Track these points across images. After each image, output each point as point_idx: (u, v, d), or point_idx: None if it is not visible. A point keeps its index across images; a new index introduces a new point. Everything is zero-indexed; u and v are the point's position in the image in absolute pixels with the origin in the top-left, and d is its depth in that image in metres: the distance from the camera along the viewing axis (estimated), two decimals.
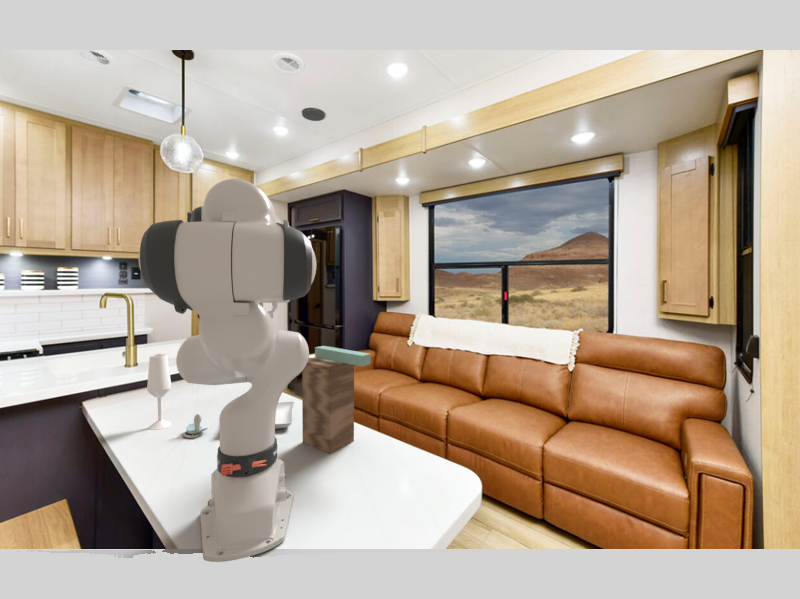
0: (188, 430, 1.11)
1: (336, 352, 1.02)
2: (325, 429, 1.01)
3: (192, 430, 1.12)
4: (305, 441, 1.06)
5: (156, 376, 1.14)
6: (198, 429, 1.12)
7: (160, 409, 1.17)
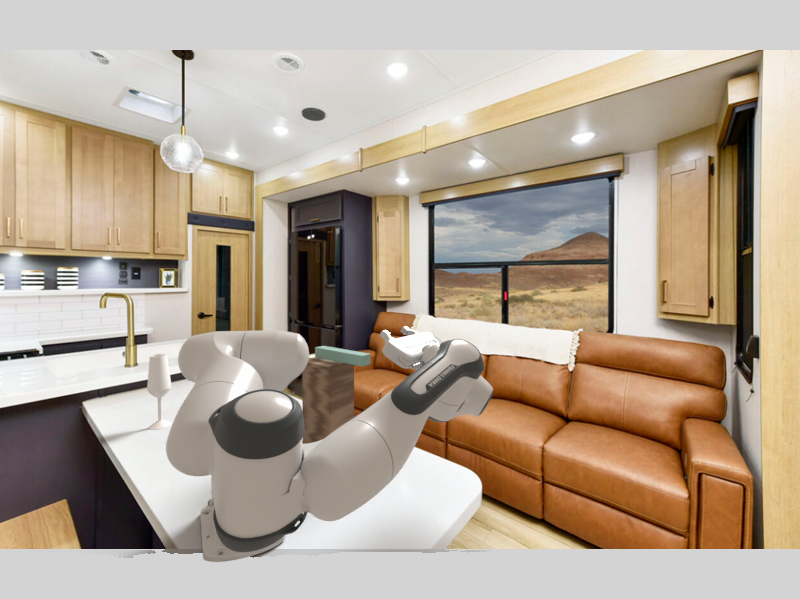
0: None
1: (336, 352, 1.02)
2: (325, 429, 1.01)
3: None
4: (305, 441, 1.06)
5: (156, 376, 1.14)
6: None
7: (160, 409, 1.17)
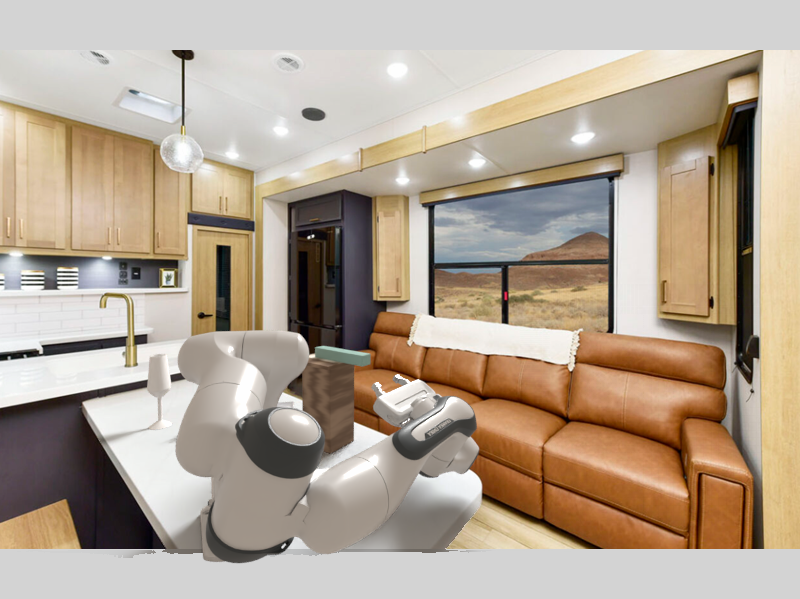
0: None
1: (336, 352, 1.02)
2: (325, 429, 1.01)
3: None
4: None
5: (156, 376, 1.14)
6: None
7: (160, 409, 1.17)
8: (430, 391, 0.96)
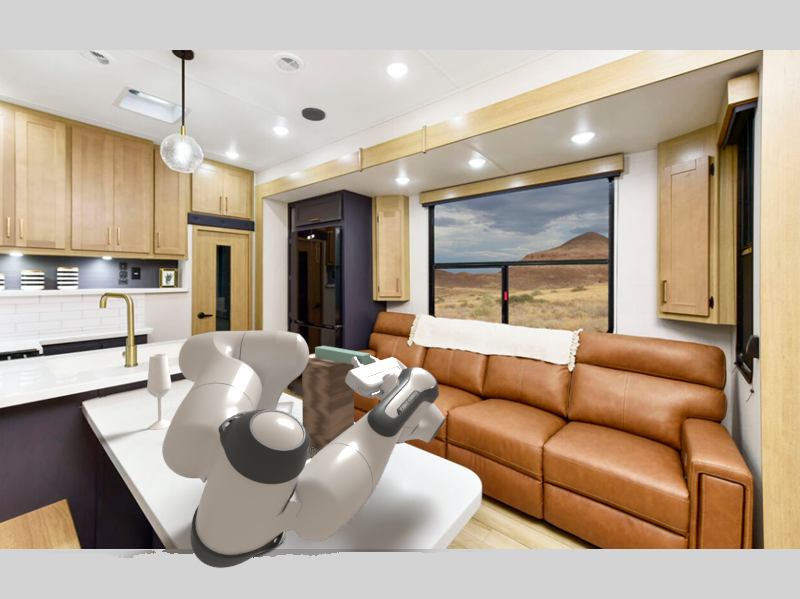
0: None
1: (336, 352, 1.02)
2: (325, 429, 1.01)
3: None
4: None
5: (156, 376, 1.14)
6: None
7: (160, 409, 1.17)
8: (403, 367, 1.00)
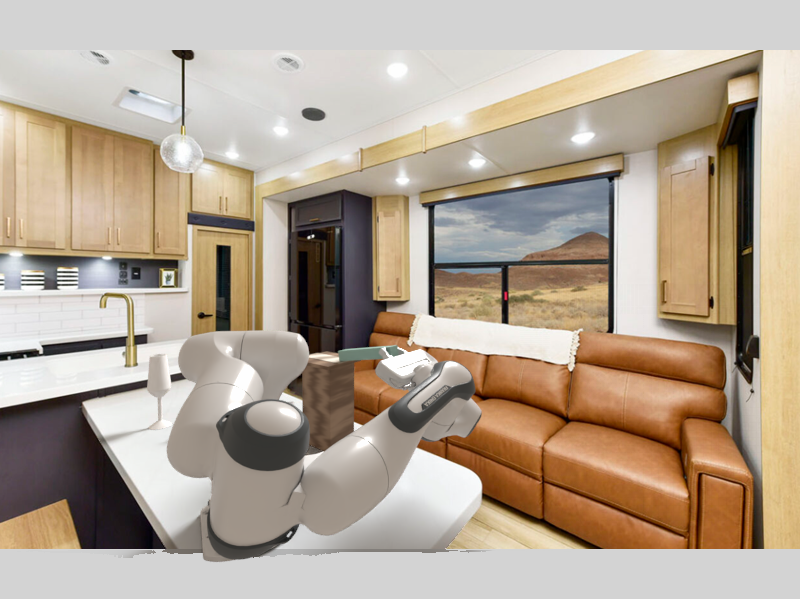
0: None
1: (361, 349, 0.97)
2: (325, 429, 1.01)
3: None
4: None
5: (156, 376, 1.14)
6: None
7: (160, 409, 1.17)
8: (432, 360, 0.95)
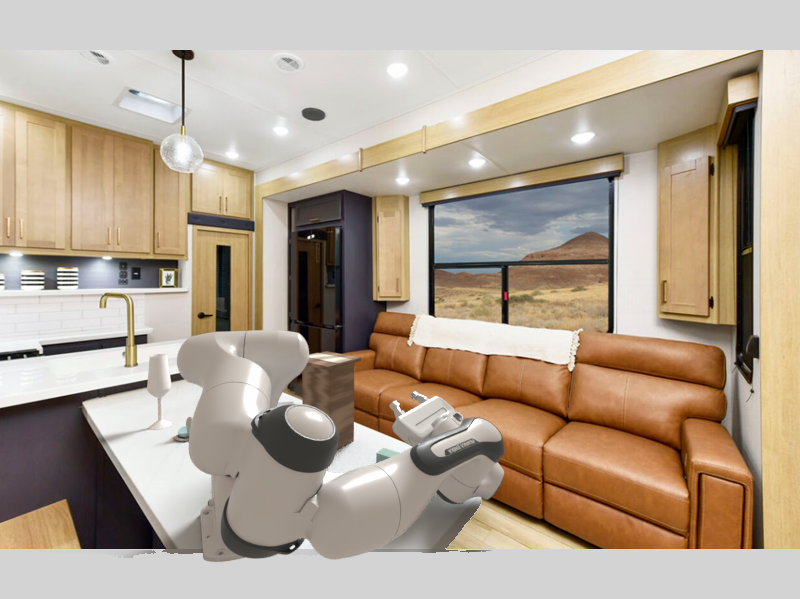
0: (180, 433, 1.09)
1: None
2: None
3: (184, 433, 1.10)
4: None
5: (156, 376, 1.14)
6: None
7: (160, 409, 1.17)
8: (449, 409, 0.92)
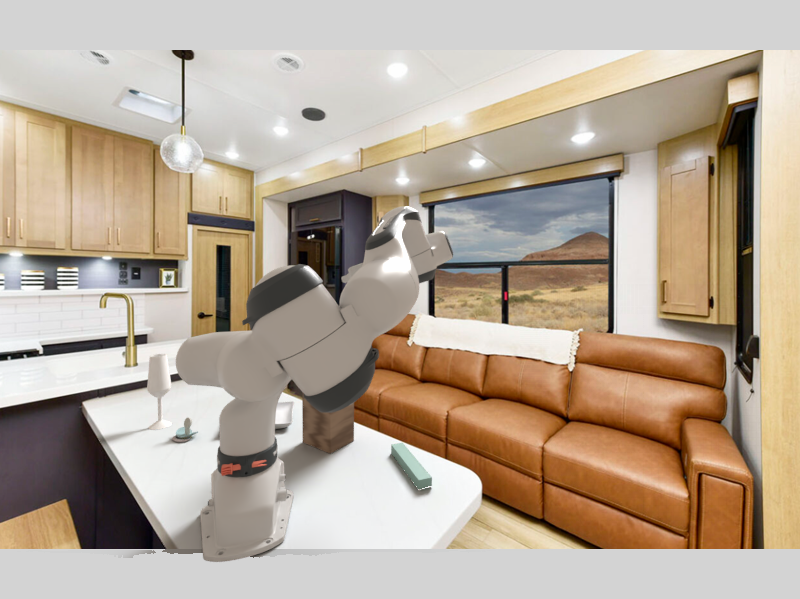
0: (178, 434, 1.09)
1: (403, 460, 0.92)
2: (325, 429, 1.01)
3: (182, 434, 1.09)
4: (305, 441, 1.06)
5: (156, 376, 1.14)
6: (188, 433, 1.09)
7: (160, 409, 1.17)
8: None
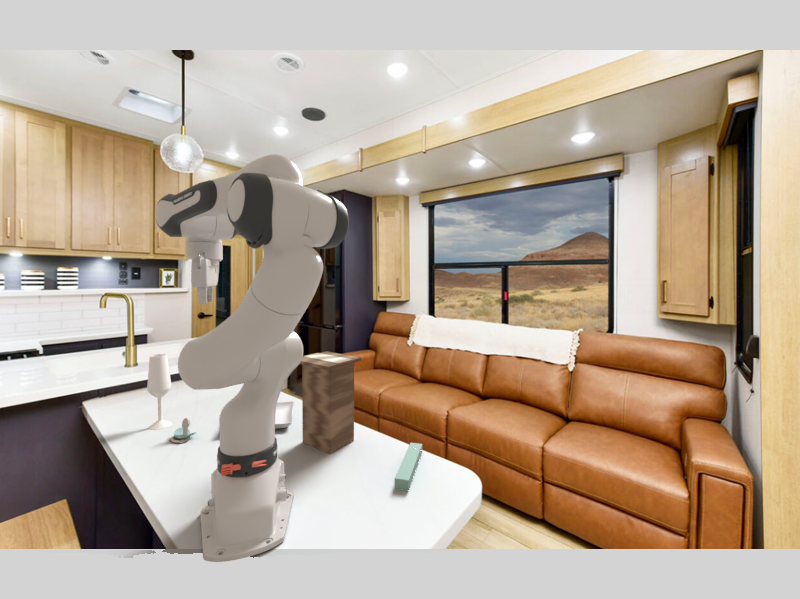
0: (176, 434, 1.08)
1: (403, 458, 0.93)
2: (325, 429, 1.01)
3: (180, 434, 1.09)
4: (305, 441, 1.06)
5: (156, 376, 1.14)
6: (186, 433, 1.08)
7: (160, 409, 1.17)
8: None
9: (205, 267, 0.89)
